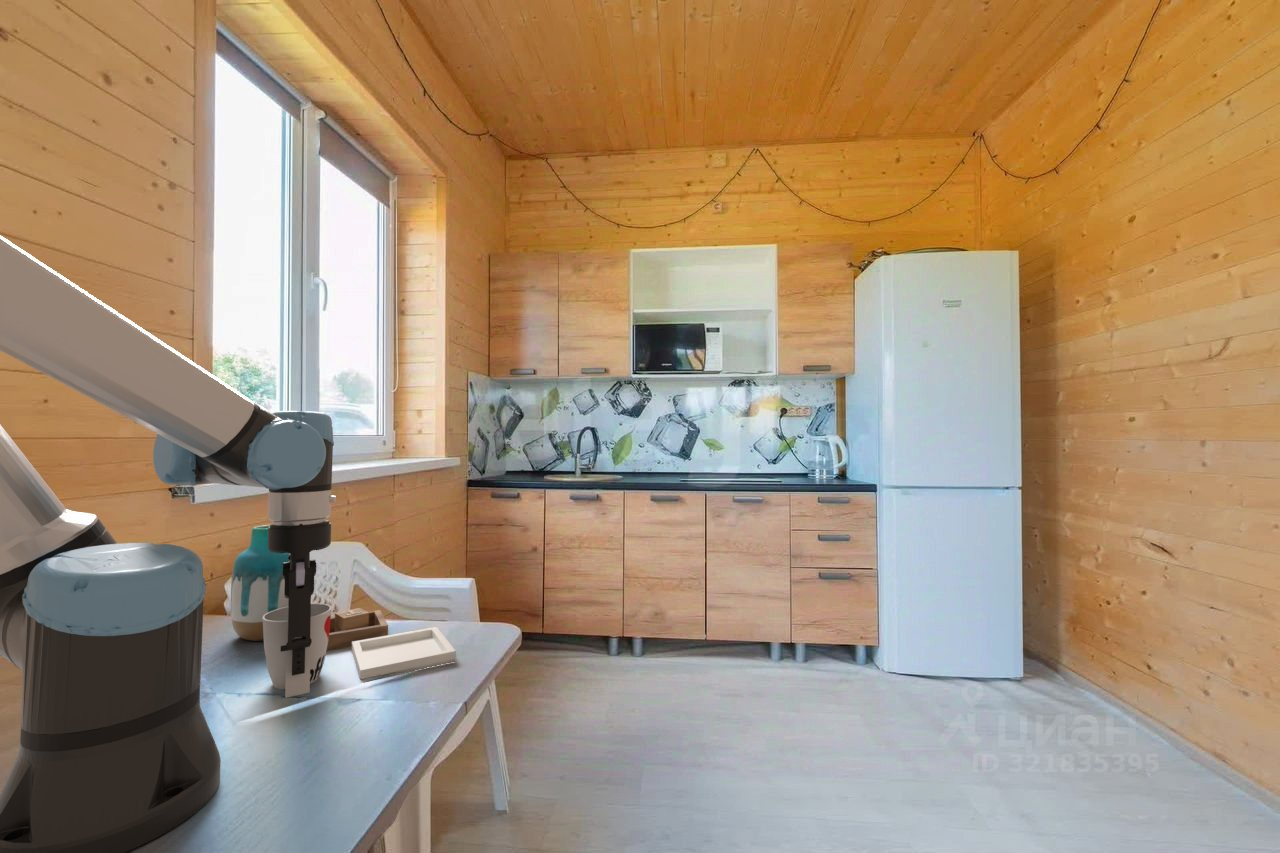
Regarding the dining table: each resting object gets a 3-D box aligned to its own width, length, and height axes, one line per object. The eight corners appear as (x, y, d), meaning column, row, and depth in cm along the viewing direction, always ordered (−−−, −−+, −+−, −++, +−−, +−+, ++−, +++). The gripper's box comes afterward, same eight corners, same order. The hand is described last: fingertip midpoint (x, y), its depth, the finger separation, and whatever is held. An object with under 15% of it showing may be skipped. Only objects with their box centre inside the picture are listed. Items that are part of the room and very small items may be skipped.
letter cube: (368, 636, 92) (368, 612, 92) (343, 642, 89) (343, 617, 89) (359, 630, 94) (359, 607, 94) (334, 636, 91) (334, 612, 91)
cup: (296, 700, 70) (298, 623, 70) (245, 695, 71) (247, 619, 72) (343, 674, 78) (344, 605, 78) (295, 669, 79) (297, 601, 80)
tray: (455, 662, 82) (455, 650, 82) (360, 683, 75) (360, 670, 75) (436, 637, 93) (436, 626, 93) (351, 653, 86) (351, 641, 86)
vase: (238, 632, 95) (241, 524, 96) (308, 624, 99) (310, 520, 100) (221, 653, 85) (224, 533, 86) (299, 643, 90) (301, 528, 90)
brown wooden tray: (387, 643, 90) (388, 625, 90) (318, 655, 84) (318, 636, 85) (379, 626, 98) (379, 609, 98) (316, 636, 93) (316, 619, 93)
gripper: (336, 529, 68) (333, 707, 67) (327, 511, 87) (324, 651, 86) (264, 534, 64) (260, 724, 63) (270, 514, 82) (267, 661, 82)
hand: (297, 682), depth 75 cm, fingers open, 9 cm apart
